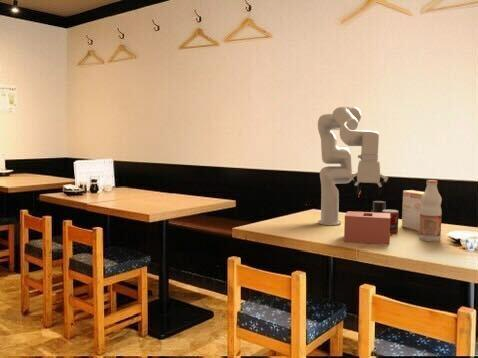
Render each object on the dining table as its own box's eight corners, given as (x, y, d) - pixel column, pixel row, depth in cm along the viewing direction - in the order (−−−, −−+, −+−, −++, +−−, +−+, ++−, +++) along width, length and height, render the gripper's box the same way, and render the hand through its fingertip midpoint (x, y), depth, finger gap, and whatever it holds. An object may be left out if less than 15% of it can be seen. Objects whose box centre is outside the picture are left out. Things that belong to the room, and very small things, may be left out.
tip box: (346, 235, 237) (347, 211, 235) (389, 238, 231) (390, 213, 229) (344, 241, 223) (344, 215, 222) (389, 244, 217) (390, 218, 216)
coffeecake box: (431, 230, 248) (432, 193, 246) (419, 231, 246) (421, 193, 244) (412, 225, 262) (413, 189, 261) (401, 226, 260) (402, 190, 258)
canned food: (390, 234, 240) (390, 212, 239) (378, 231, 247) (379, 210, 246) (401, 232, 243) (402, 211, 242) (389, 230, 250) (390, 209, 249)
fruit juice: (414, 237, 232) (417, 179, 229) (432, 236, 234) (434, 179, 231) (426, 242, 222) (429, 181, 220) (444, 241, 225) (447, 181, 222)
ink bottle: (380, 225, 263) (381, 203, 262) (366, 222, 270) (367, 201, 269) (390, 223, 269) (391, 201, 268) (377, 220, 276) (377, 200, 275)
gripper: (349, 158, 222) (348, 194, 225) (388, 159, 217) (387, 196, 219) (350, 156, 230) (349, 192, 232) (389, 158, 224) (387, 194, 227)
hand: (367, 194), depth 226 cm, fingers open, 9 cm apart
